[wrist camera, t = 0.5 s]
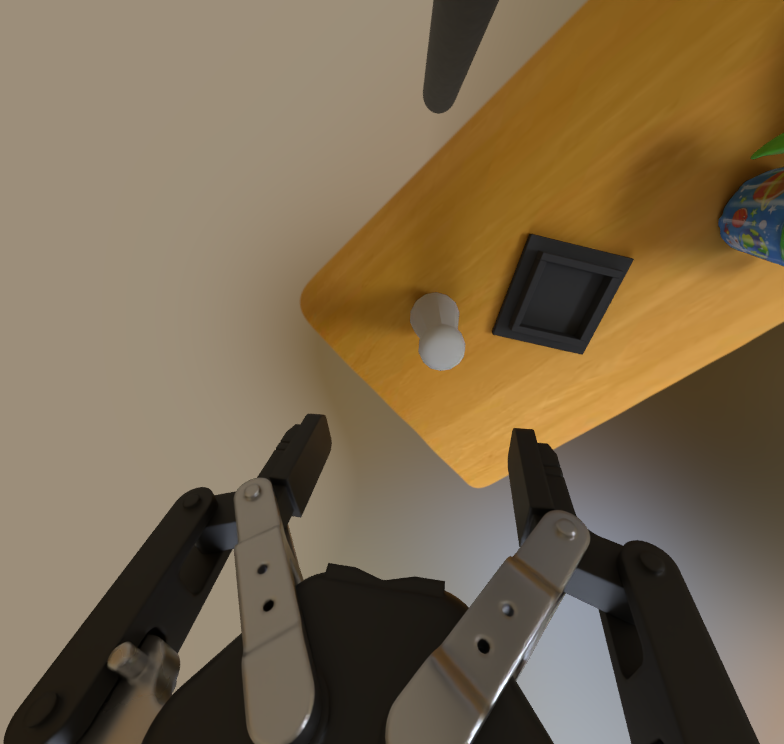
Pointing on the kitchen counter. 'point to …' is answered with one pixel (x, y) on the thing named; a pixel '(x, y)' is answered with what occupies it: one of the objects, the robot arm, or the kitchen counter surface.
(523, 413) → the kitchen counter surface
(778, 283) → the kitchen counter surface
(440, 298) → the salt shaker
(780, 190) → the snack cup
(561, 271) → the socket pad
